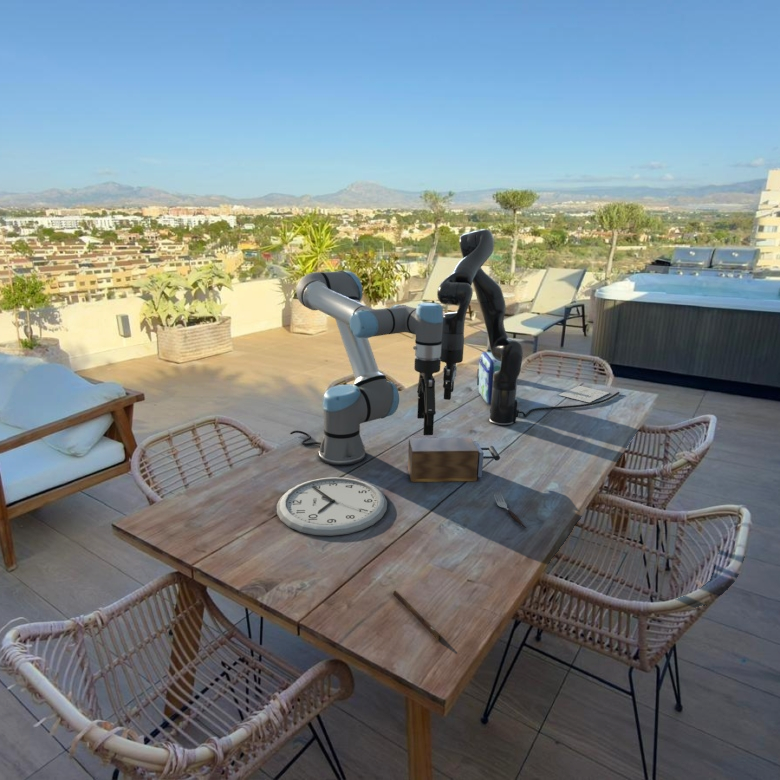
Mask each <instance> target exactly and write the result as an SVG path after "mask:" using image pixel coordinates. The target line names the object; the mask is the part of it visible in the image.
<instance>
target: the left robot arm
mask: <svg viewBox="0 0 780 780" xmlns="http://www.w3.org/2000/svg"><path fill="white" fill-rule="evenodd" d="M363 290H364V289H363V285H362V282H361V280H360V278H359V277H358V276H357V274H356V273H354V272H352V271H348V270H347V271H346V270H337V271H315V272H314V271H313V272H310V273H307V274H305V275H304V276H302V277H301V278H300V280H299V281H298V282H297V286H296V290H295V291H296V292H295V293H296V297H297V299H298V302H299V303H300V304H301V305H302V306H304V307H305V308H307V309H308V310H311V311H320V312H321V313H323V314H325V315H327V316H329V317H331V318H333V319H335V322H336V325H337V329H338V331H339V335H340V337H341V340H342V344H343V346H344V349H345V352H346V356H347V358H348V362H349V364H350V367H351V371H352V374H353V377H354V380H355V381H354V382H353V384H351V383H347V384H339V385H334V386H331V387H330V388H328V389H327V390H326V391H325V392H324V394H323V401H322V409H323V437H322V439H321V441H312V442H308V441H310V440H311V439H312V436H311V435H310V434H309V433H308V432H305V431H302V430H292V431H291V432H290V433H289V434H290V435H293V434H302V435H304V436H306V437H307V438H305V439H303V440H301V442H300V443H301V445H302V446H312V445H313V446H314V445H320V446H319V449H318V458H319V460H320V461H321V462H322V463H325V464H327V465H331V466H340V467H341V466H342V467H343V466H350V465H355V464H358V463H360V462H362V461H363V460H364V459H365V458H366V446H365V444H364V441H363V439H362V437H361V432H360V431H361V430H360V429H361V424H363V423H367V422H371V421H375V420H379V419H385V418H387V417H390V416H393V415H394V414H395V413H396V412H397V410H398V409H399V405H400V393H399V390H398V387H397V386H396V384H394V382H392V381H388V379H387V376H386V374H384V373H382V372H380V370H379V367H378V364H377V361H376V357H375V355H374V351H373V349H372V347H371V343H370V340H369V338H374V337H380V336H387V335H394V334H401V333H408V334H411V335H415V340H414V342H415V344H414V345H415V346H413V347H412V349H413V350H414V356H415V358H414V367H413V368H414V371H415V372H417V373H419V374H418V384H417V390H416V392H417V419H423V431H422V433H423V436H434V424H435V422H434V421H435V415H436V413H437V411H436V380H435V377H434V376H433V374H437V373H439V372H440V371H441V365H442V364H441V363H442V362H441V360H440V357H441V348H442V343H441V342H442V325H443V315H444V311H443V310H444V308H443V306H442V305H441V303H437V302H421V303H418V304H417V305H416V307H413V306H408V305H406V304H395V305H393V306H391V307H388V308H372V307H370V306H367V305H365V304H363V303H361V300H362V299H363Z"/></svg>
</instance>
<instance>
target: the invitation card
mask: <svg viewBox="0 0 780 780" xmlns="http://www.w3.org/2000/svg"><path fill="white" fill-rule="evenodd" d="M609 394H610V392H609V391H604V390H600V389H595V388H592V387H587V386H582V385H577V386H575V387H573V388H571V389H567V390H566V391H563V392H561V393H558V396H559V397H560V396H561V397H565V398H569V399H572V400H575V401H581V402H584V403H587V404H589V403H593V402H595V401H596V400H598V399H601V398H602V397H604V396H607V395H609Z"/></svg>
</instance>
